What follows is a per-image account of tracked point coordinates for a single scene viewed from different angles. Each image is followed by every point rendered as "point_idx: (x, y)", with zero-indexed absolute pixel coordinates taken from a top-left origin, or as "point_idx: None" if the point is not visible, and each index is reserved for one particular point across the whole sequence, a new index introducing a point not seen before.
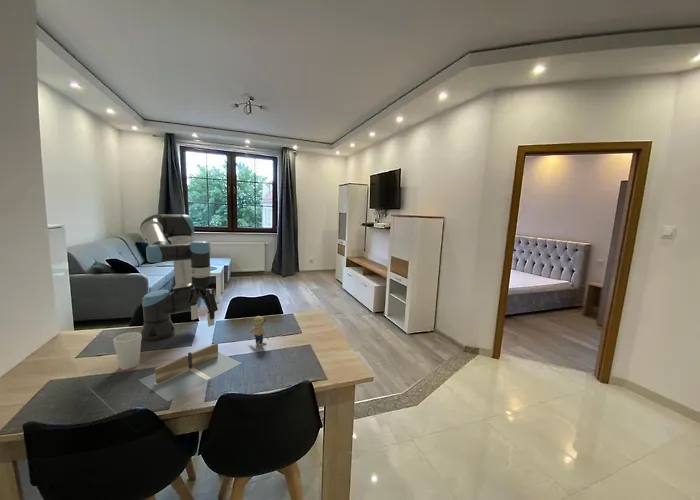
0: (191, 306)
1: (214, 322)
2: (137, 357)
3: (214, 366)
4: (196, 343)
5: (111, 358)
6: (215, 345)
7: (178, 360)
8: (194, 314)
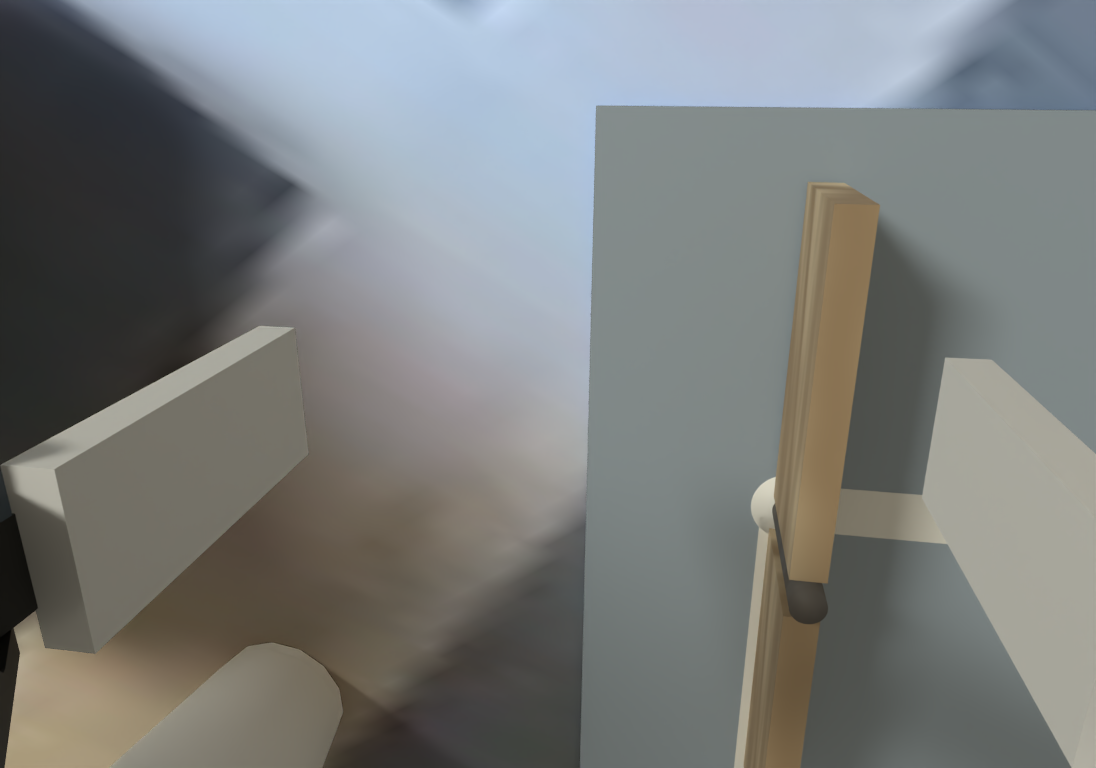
0: (82, 644)
1: (1015, 381)
2: (303, 732)
3: (1005, 358)
4: (286, 120)
5: (60, 696)
6: (872, 246)
7: (806, 714)
8: (246, 448)
